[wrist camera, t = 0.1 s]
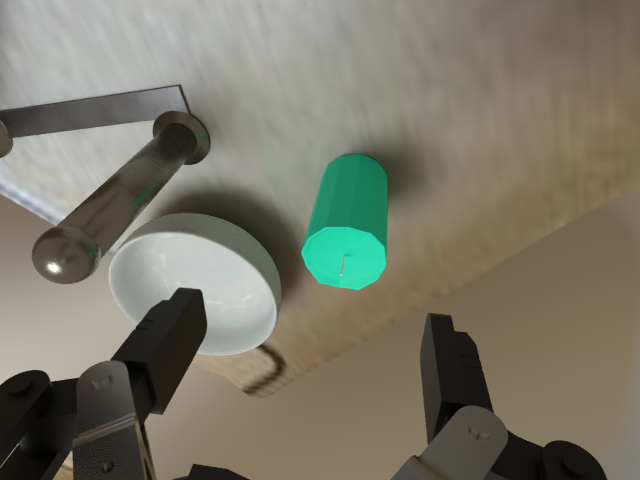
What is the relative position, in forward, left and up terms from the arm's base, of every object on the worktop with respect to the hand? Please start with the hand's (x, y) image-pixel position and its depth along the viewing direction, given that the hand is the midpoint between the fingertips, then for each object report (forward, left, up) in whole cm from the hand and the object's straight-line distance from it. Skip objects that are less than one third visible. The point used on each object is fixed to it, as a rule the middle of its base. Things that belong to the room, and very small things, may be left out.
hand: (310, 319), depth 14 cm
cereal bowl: (+22, -4, -23) cm, 32 cm away
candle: (+6, +4, -23) cm, 24 cm away
